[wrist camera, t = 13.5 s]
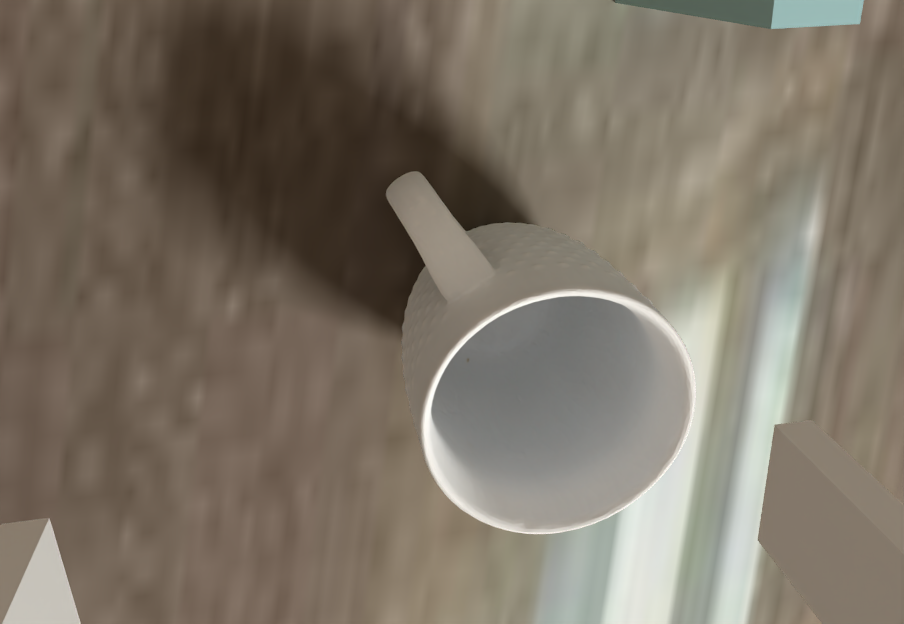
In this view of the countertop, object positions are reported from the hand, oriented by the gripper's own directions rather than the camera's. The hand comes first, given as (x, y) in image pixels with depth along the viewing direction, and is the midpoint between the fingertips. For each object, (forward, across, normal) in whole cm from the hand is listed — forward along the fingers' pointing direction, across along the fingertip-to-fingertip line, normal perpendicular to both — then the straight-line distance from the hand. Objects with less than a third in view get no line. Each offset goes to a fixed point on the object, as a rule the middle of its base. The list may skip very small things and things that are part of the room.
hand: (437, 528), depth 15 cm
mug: (+27, +6, -6) cm, 28 cm away
